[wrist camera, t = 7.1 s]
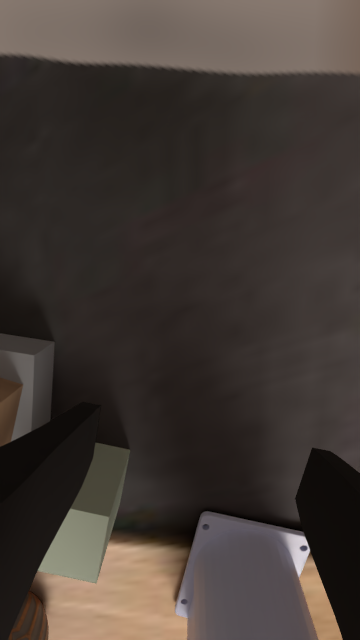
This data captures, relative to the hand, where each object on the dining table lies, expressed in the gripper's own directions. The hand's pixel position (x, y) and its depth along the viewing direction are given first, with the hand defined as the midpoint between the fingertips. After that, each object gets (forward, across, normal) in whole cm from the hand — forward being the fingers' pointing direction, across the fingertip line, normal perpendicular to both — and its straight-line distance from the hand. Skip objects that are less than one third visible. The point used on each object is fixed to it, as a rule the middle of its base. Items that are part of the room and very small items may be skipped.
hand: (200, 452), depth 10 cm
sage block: (+10, +5, +10) cm, 15 cm away
